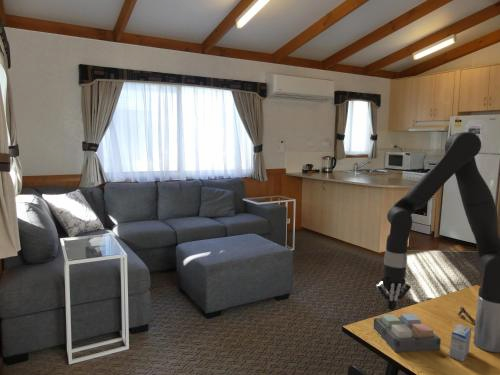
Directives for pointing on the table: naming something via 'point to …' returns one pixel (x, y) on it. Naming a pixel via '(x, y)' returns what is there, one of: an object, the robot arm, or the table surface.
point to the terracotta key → (422, 330)
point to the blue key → (409, 319)
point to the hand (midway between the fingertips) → (390, 309)
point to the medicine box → (460, 342)
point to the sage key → (390, 320)
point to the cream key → (401, 331)
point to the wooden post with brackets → (466, 315)
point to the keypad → (406, 339)
